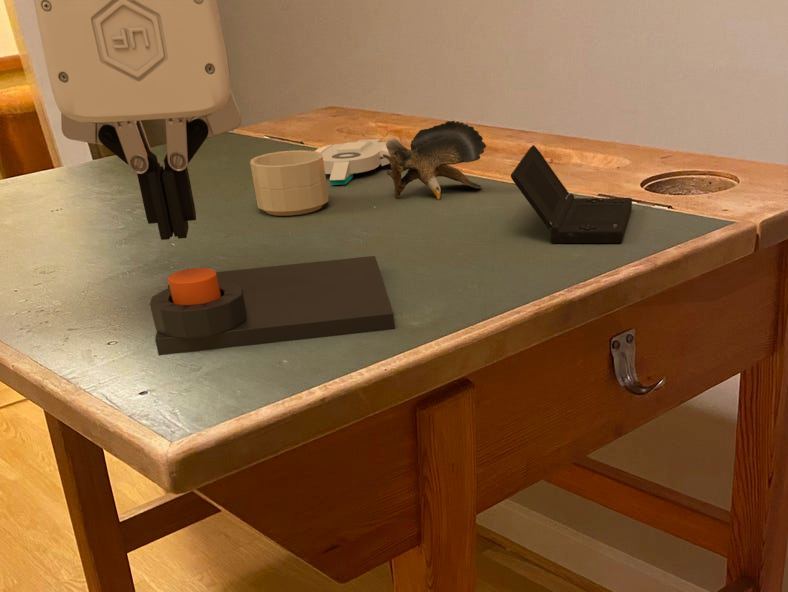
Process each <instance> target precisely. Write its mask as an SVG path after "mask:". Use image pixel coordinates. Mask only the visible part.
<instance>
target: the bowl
mask: <svg viewBox="0 0 788 592" xmlns="http://www.w3.org/2000/svg"><path fill="white" fill-rule="evenodd" d="M249 161H250V162H249V163H250V169H251V177H252V181H253V186H254V193H255V198H256V203H257V208H258V209H260V210H262V211H265V213H266V214H268V215H272V216H280V217H291V216H300V215H306V214H310V213H313V212H317V211H319V210H320V209H322V208H323V207H324V205H325V204H326V203H328V202H329V193H328V185H327V179H326V174H325V170H324V162H323V156H322V153H319V152H316V150H305V149H304V150H299V149H298V150H283V151H275V152H270V153H264V154H261V155H258V156H255V157H253V158H251V160H249Z"/></svg>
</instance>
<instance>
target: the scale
mask: <svg viewBox="0 0 788 592" xmlns="http://www.w3.org/2000/svg"><path fill="white" fill-rule="evenodd" d="M379 267H380V266H379V264H378V261H377V258H376V255H368V256H359V257H349V258H340V259H331V260H329V259H328V260H321V261H311V262H300V263H292V264H282V265H281V264H280V265H273V266H272V265H271V266H263V267H252V268H243V269H241V268H240V269H234V270H232V269H231V270H224V271H223V270H222V271H215V272H216V274H217V279H218V284H219V289H220V294H221V297H220V298H219V299H217V300H214V301H211V302H207V303H204V304H194V305H177V304H174V303H173V299H172V295H171V291H170V286H169V283H168V284H167V288H165V289H164V290H161V291H160V292H157V293H156V294H155V295H153V296H152V297H151V299H150V303H149V307H150V311H151V316H152V319H153V323H154V327H155V330H156V334H155V338H154V342H155V346H156V349H157V353H158V356H166V355H175V354H183V353H184V354H185V353H194V352H195V353H196V352H202V351H211V350H221V349H229V348H240V347H249V346H257V345H266V344H267V345H268V344H274V343H275V344H276V343H283V342H285V343H286V342H293V341H300V340H301V341H302V340H310V339H311V340H313V339H321V338H328V337H330V338H331V337H338V336H339V337H340V336H347V335H355V334H364V333H366V334H367V333H373V332H374V333H375V332H383V331H392V330H396V327H395V317H394V311H393V308H392V305H391V302H390V298H389V296H388V292H387V288H386V286H385V282H384V279H383V276H382V273H381V271H380V268H379Z"/></svg>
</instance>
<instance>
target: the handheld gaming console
mask: <svg viewBox="0 0 788 592" xmlns="http://www.w3.org/2000/svg"><path fill="white" fill-rule="evenodd" d="M510 178H511V180H512V182H513V183H514V184H515V185H516V186H515V187H517V188H518V190H519V191H520V193H521V194H522V195H523V197H524V198H525V200H526V201H527V202H528V203H529V205H530V206H531V207H532V209H533V210H534V211H535V212H536V215H537V216H538V217H539V218H540V220H541V221H542V223H543V224H544V225H545V227H546V228H547V229H548V230H550V239H549V240H550V241H549V242H550V243H551V244H622V242H623V241H624V236H625V233H626V230H627V226H628V223H629V221H630V220H629V219H630V216H631V212H632V210H633V209H632V207H633V198H632V197H586V198H585V197H584V198H583V197H582V198H579V197H577V198H575V196H574V194H573V193H569V191H568V190H567V188H566V187H565V185H564V184H563V183H562V182H561V180H560V178H559V177H558V175H557V174H556V173H555V171H554V170H553V169H552V167H551V166H550V164H549V163H548V162H547V160H546V159H545V157H544V156H543V153H541V151H539V149H538V148H537V146H535V145H534V144H533V145H531V146H530V147H529V149H528V150H527V151H526V153H525V154H524V155H523V157H522V158H521V159H520V161H519V163H518V164H517V165H516V166H515V168H514V169H513V171H512V172H511V174H510Z"/></svg>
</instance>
